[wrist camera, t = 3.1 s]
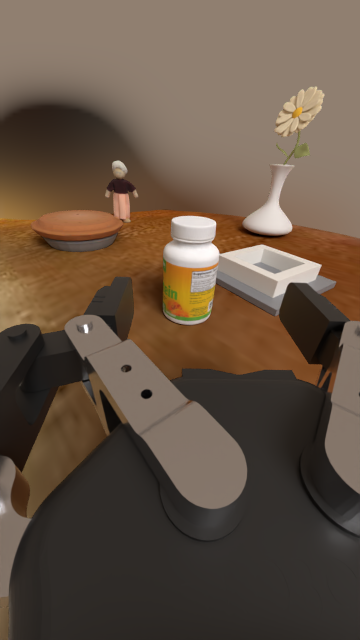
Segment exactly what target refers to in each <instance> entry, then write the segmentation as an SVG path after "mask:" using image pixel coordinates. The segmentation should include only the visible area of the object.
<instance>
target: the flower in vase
mask: <svg viewBox="0 0 360 640" xmlns="http://www.w3.org/2000/svg"><path fill="white" fill-rule="evenodd" d="M323 97H324V94H322V91H320V90H318V91H317V87H314V88H313V87H310V88H309V89H308V90H307V91H305V92H304V90H301V91H299V93H298V95H297V96H296V97H295V96H294V97H292V98H291V99H290V102H286V103H285V104H284V106H283V108H284V109H283V110H282V111H281V112H280V113H279V116H278V118H277V121H276V126H277V127H276V128H275V132H276V133H278V135H281V134H282V137H286V136H291V135H292V134H293V132H294V131H295V133H298V140H297V144H296V147H295V148H294V150H293V151H292V153H291V154H290V155H289V157H288V156H287V154H286V152H285V151H284V150H282V149H281V148H279V146H278V144H276V146H277V147H278V149H279V150H281V151H282V152H283V153H284V154H285V155H286V156H287V157H288V158H287V160H286V161H285V163H284V164H283V165H281V164H270V168H271V171H272V182H271V189H270V193H269V197H268V200H267V202H266V203H265V204H264V205H263V207H261V208H260V209H258V210H257V211H255V212H253V213H252V214H251V215H249V216H248V217H247V218H246V219H244V221H243V223H242V224H243V226H244V228H246V229H247V230H249V231H251V232H254V233H257V234H261V235H270V236H278V235H284V234H288V233H289V232H290V231H291V230H292V224H291V223H290V221H289V219H288V218H287V217H286V215H285V214H284V213H283V211H282V210H281V209H280V207H279V196H280V192H281V189H282V186H283V183H284V181H285V179H286V177H287V175H288V173H289V172H290V171H291V169H292V168H293V167H294V165H285V164H286V163H287V161H288V160H289V158H290V157H291V156H292V154H293V153H294V156H295V158H299V157H302V156H307V155H310V153H309V148H308V145H307V143H304V144H302V145H300V146H298V143H299V139H300V130H302V129H303V128H305V127H306V126H307V125H308V122H310V121H312V120H313V119H314V117H315V115H316V114H317V113H318V112H319V111H320V110H321V108H322V107H321V106H320V105H321V104H322V103H323V100H322V99H323ZM297 146H298V147H297Z"/></svg>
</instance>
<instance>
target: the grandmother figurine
mask: <svg viewBox="0 0 360 640" xmlns="http://www.w3.org/2000/svg"><path fill="white" fill-rule="evenodd" d="M112 170H113V172H114V175H115V177H116V178H117V179H113V180H112V181H111V182H110V183H109V185H108V187H107V190H106V194H105V197H106V198H109V197H110V193H111V191H112V190H114V195H113V197H114V198H113V199H114V217H116V218H118V219H120V220H121V219H123V222H131V221H130V219H129V218H130V204H129V196H128V192H127V191H129V192H132V193H133V195H134V197H135V198H137V197H138V195H137V192H136V190H135V189H136V188H135V187H134V186H133V185H132V184H131V183H130V182H128V181H127V180H124V179H123V178H124V177H125V174H126V173H127V168H126V167H125V165H124V164H123V163H122V162H120V161H114V162H113V164H112Z"/></svg>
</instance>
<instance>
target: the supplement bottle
mask: <svg viewBox="0 0 360 640" xmlns="http://www.w3.org/2000/svg"><path fill="white" fill-rule="evenodd" d="M215 230H216V222H215V221H214V220H212V219H209V218H205V217H197V216H181V217H176V218H174V219H172V223H171V236H172V238H173V241H171V242H170V243H168V244H167V245H166V246H165V248H164V253H163V312H164V315H165V316H166V317H167V318H168V319H170V320H171V321H173V322H175V323H178V324H183V325H194V324H199V323H202V322H204V321H205V320H207V319H208V317H209V316H210V314H211V309H212V302H213V296H214V289H215V283H216V276H217V269H218V263H219V251H218V249H217V247H216V246H215V245H213V244H212V243H211V241H212V240H213V239H214V237H215Z"/></svg>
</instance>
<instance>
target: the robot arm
mask: <svg viewBox="0 0 360 640" xmlns="http://www.w3.org/2000/svg"><path fill="white" fill-rule="evenodd" d="M133 314H134V302H133V290H132V280H131V277H115V278H114V280H113V282H112V284H111V286H104V287H103V288H101V289H100V290H98V291H97V293H96V294H95V296H94V298H93V300H92V302H91V303H90V305H89V306H88V308H87V310H86V311H85V313H84V315H82V316H78V317H75V318H73V319H71V320H70V321H69V322H67V324H66V325H65V330H62V331H57V332H51V333H46V334H42V333H41V330H40V328H39V327H38V326H36V325H33V324H21V325H16V326H13V327H10V328H8V329H5V330H4V331H2V332H1V333H0V608H5V607H9V634H8V640H360V322H358V321H350V320H349V319H348V318H347V317H346V316H345V315H344V314H343V313H341V312H340V311H339V310H338V309H336V307H335V306H334V305H333V304H331V302H330V301H328V300H327V299H326V298H325V297H323V296H322V295H320V294H318V293H317V292H316V291H315V290H314V289H313V288H312V287H311V286H309V285H308V284H307V283H298V282H291V283H289V284H288V286H287V288H286V291H285V294H284V297H283V300H282V303H281V306H280V310H279V317H280V320H281V322H282V324H283V325H284V327H285V328H286V330H287V331H288V333H289V334H290V336H291V337H292V339H293V340H294V342H295V343H296V345H297V346H298V348H299V350H300V351H301V353H302V354H303V356H304V357H305V359H306V360H307V362H308V363H309V364H322V365H323V366H322V368H321V369H320V371H319V374H318V377H317V380H316V383H315V385H313V384H311V383H308V382H305V381H302V380H298V379H296V377H295V375H294V373H293V372H292V370H262V371H257V372H253V373H248V374H243V375H236V374H231V373H226V372H221V371H217V370H212V369H182V377H180V378H176V379H173V380H170V381H169V380H168V379H167V377H166V376H165V375H164V374H163V373H162V372H161V371H160V370H159V369H158V368H157V367H156V366H155V365H154V364H153V363H152V361H151V360H150V359H149V358H148V357H147V356H146V355H145V354H144V353H143V352H142V351H141V350H140V349H139V348H138V347H137V345H136V344H135V343H134V342H133V341H132V340H130V339H127V337H128V334H129V330H130V326H131V322H132V319H133ZM78 381H80V382H81V384H82V386H83V388H84V390H85V392H86V393H87V395H88V397H89V399H90V401H91V402H92V404H93V406H94V408H95V410H96V412H97V413H98V416H99V418H100V420H101V423H102V426H103V428H104V430H105V432H106V434H107V437H106V438H105V439H104V440H103V441H102V442H101V443H100V444H99V445H98V446H97V447H96V448H95V449H94V450H93V451H92V452H91V453H90V454H89V455H88V456H87V457H86V458H85V459H84V460H83V461H82V462H81V463H80V464H79V465H78V466H77V467H76V468H75V469H74V470H73V471H72V472H71V473H70V474H69V475H68V476H67V477H66V478H65V479H64V480H63V481H62V482H61V483H60V484H59V485H58V486H57V487H56V488H55V489H54V490H53V491H52V492H51V493H50V494H49V495H48V496H47V498H46V499H45V500H44V501H43V502H42V504H41V505H40V506H39V508H38V509H37V511H36V512H35V514H34V515H33V517H32V518H27V515H26V510H27V504H28V500H29V496H30V486H29V483H28V481H27V480H26V478H25V477H24V476H23V474H22V470H23V468H24V466H25V463H26V461H27V459H28V456H29V454H30V452H31V450H32V447H33V445H34V443H35V440H36V438H37V436H38V433H39V431H40V429H41V427H42V424H43V422H44V420H45V417H46V415H47V413H48V410H49V408H50V406H51V404H52V401H53V399H54V397H55V394H56V392H57V390H58V387H59V386H62V385H66V384H70V383H74V382H78Z"/></svg>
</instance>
